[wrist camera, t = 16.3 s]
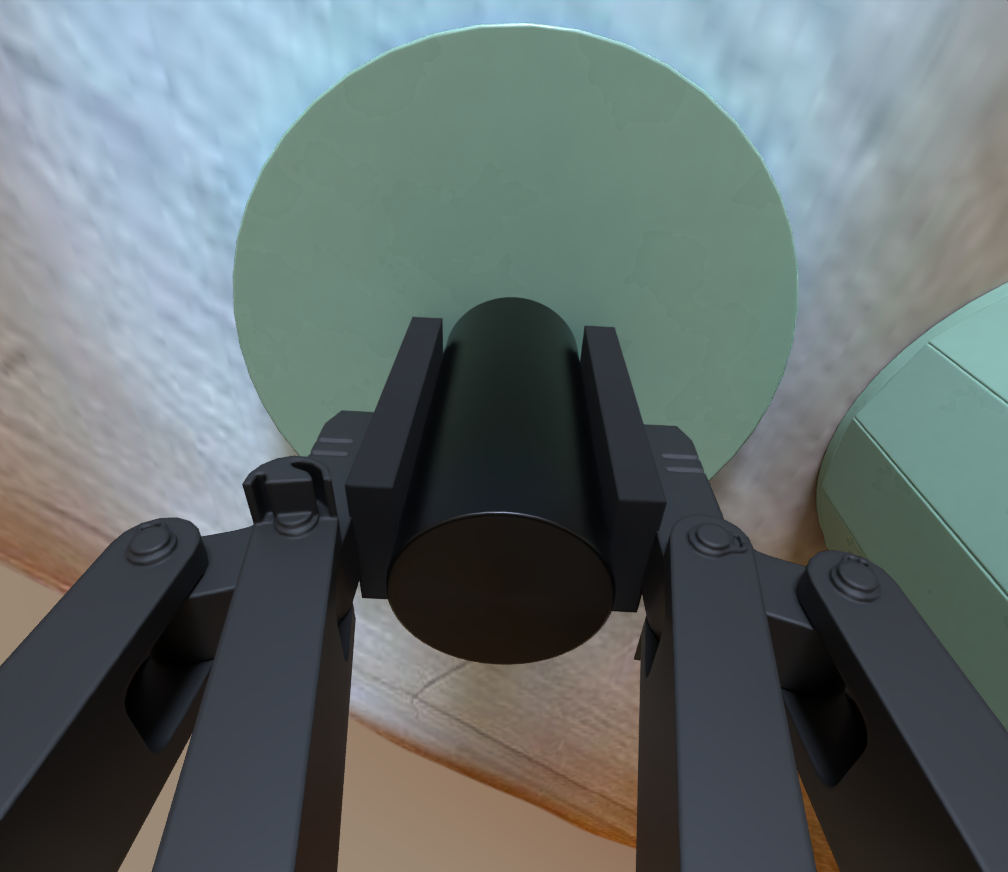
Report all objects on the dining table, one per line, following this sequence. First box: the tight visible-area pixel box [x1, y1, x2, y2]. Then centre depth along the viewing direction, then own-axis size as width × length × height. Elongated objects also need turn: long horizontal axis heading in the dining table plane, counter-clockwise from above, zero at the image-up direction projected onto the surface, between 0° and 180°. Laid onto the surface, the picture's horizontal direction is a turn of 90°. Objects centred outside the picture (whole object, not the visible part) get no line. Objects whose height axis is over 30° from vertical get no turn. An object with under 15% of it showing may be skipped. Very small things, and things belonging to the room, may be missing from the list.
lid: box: [233, 23, 798, 665], centre depth 13 cm, size 15×15×9 cm
